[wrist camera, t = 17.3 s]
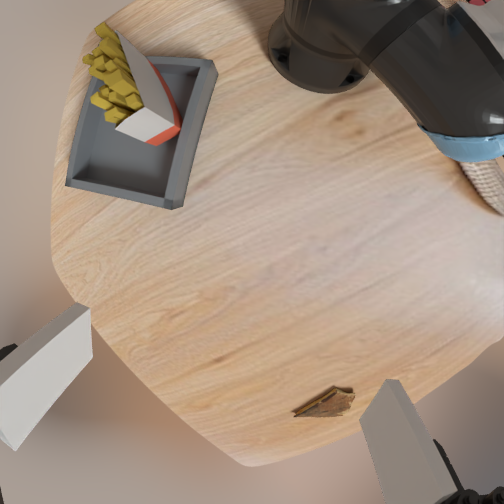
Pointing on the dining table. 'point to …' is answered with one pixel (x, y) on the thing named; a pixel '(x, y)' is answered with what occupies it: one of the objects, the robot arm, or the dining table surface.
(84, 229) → the dining table surface
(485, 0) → the puzzle cube
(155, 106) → the french fries container
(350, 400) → the shard
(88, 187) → the tray
